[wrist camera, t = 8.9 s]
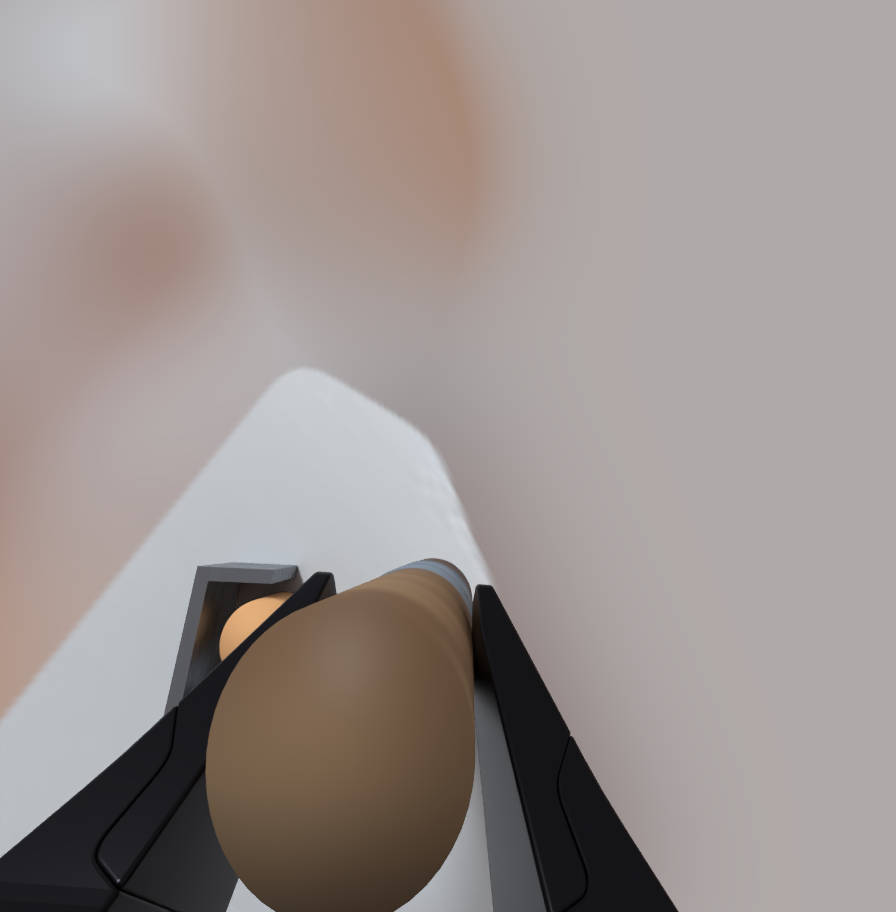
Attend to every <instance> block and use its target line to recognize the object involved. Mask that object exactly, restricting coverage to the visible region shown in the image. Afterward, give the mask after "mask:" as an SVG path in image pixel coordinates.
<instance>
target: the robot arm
mask: <svg viewBox="0 0 896 912" xmlns="http://www.w3.org/2000/svg"><path fill="white" fill-rule="evenodd" d="M334 595H336V587H335V580H334V575H333V574H332V573H331V572H316V573H315V574H313V575H312V576H311V577H310V578H309V579H308V580H307V581H306V582H305V583H304V584H303V585H302V586H301V587H300V588H299V589H298V590H296V591H295V592H294V593H293V594H292V595H291V596H290V597H289V598H288V599H287V600H286V601H285V602H284V603H283V604H282V605H281V606H280V607H279V608H278V609H276V610H275V611H274V612H273V613H272V614H271V615H270V616H269V617H268V618H267V619H266V620H265V621H264V622H263V623H262V624H261V625H260V626H259V627H258V628H256V629H255V630H254V631H253V632H252V633H251V634H250V635H249V636H248V637H247V638H246V639H245V640H244V641H243V642H242V643H241V644H240V645H239V646H237V647H236V648H235V649H234V650H233V651H232V652H231V653H230V654H229V655H228V656H227V657H226V658H225V659H224V660H223V661H222V662H221V663H220V664H219V665H217V666H216V667H215V668H214V669H213V670H212V671H211V672H210V673H209V674H208V675H207V676H206V677H205V678H204V679H203V680H202V681H201V682H200V683H198V684H197V685H196V686H195V687H194V688H193V689H192V690H191V691H190V692H189V693H188V694H187V695H186V696H185V697H184V698H183V699H182V700H181V701H180V702H179V703H178V706H174V707H173V708H172V709H171V710H170V711H169V712H168V713H167V714H166V715H165V716H163V717H162V718H161V719H160V720H159V721H158V722H157V723H156V724H155V725H154V726H153V727H152V728H151V729H150V730H149V731H147V732H146V733H145V734H144V735H143V736H142V737H141V738H140V739H139V740H138V741H137V742H135V743H134V744H133V745H132V746H131V747H130V748H129V749H128V750H127V751H126V752H125V753H123V754H122V755H121V756H120V757H119V758H118V759H117V760H115V761H114V762H113V763H112V764H111V765H110V766H109V767H107V768H106V769H105V770H104V771H103V772H102V773H100V774H99V775H98V776H97V777H96V778H95V779H94V780H92V781H91V782H90V783H89V784H88V785H87V786H85V787H84V788H83V789H82V790H81V791H80V792H78V793H77V794H76V795H75V796H74V797H72V798H71V799H70V800H69V801H68V802H66V803H65V804H64V805H63V806H62V807H61V808H59V809H58V810H57V811H56V812H55V813H53V814H52V815H51V816H50V817H49V818H47V819H46V820H45V821H44V822H43V823H41V824H40V825H39V826H38V827H37V828H36V829H34V830H33V831H32V832H31V833H30V834H28V835H27V836H26V837H25V838H24V839H22V840H21V841H20V842H19V843H18V844H16V845H15V846H14V847H13V848H12V849H11V850H9V851H8V852H7V853H6V854H5V855H3V856H2V857H1V858H0V912H226V910H227V908H228V905H229V902H230V900H231V897H232V894H233V892H234V889H235V886H236V884H237V881H238V878H239V877H238V876H237V875H236V873H235V872H234V870H233V868H232V867H231V865H230V863H229V862H228V860H227V858H226V856H225V855H224V852H223V850H222V848H221V845H220V843H219V841H218V838H217V836H216V833H215V829H214V826H213V822H212V819H211V815H210V810H209V804H208V798H207V789H206V753H207V745H208V739H209V732H210V728H211V724H212V720H213V716H214V712H215V709H216V707H217V704H218V701H219V699H220V696H221V693H222V691H223V689H224V687H225V685H226V683H227V681H228V679H229V677H230V675H231V673H232V672H233V670H234V669H235V667H236V665H237V664H238V662H239V661H240V659H241V658H242V657H243V655H244V654H245V653H246V652H247V650H248V649H249V648H250V647H251V645H252V644H253V643H254V642H255V641H256V640H257V639H258V638H259V637H260V636H261V635H262V634H263V633H264V632H265V631H267V630H268V629H269V628H270V627H272V626H273V625H274V624H276V623H277V622H278V621H280V620H281V619H283V618H285V617H286V616H288V615H290V614H291V613H293V612H295V611H297V610H300V609H302V608H304V607H307V606H309V605H312V604H314V603H317V602H319V601H321V600H324V599H326V598H329V597H331V596H334ZM472 642H473V674H474V709H475V720H476V731H477V741H478V752H479V762H480V773H481V784H482V794H483V805H484V816H485V826H486V837H487V848H488V858H489V869H490V879H491V890H492V901H493V911H494V912H678V910H677V909H676V907H675V905H674V904H673V902H672V901H671V899H670V898H669V896H668V895H667V893H666V891H665V890H664V888H663V887H662V885H661V884H660V882H659V880H658V879H657V877H656V876H655V874H654V872H653V871H652V869H651V868H650V866H649V865H648V863H647V862H646V860H645V858H644V857H643V855H642V854H641V852H640V851H639V849H638V847H637V846H636V844H635V843H634V841H633V840H632V838H631V836H630V835H629V833H628V832H627V830H626V829H625V827H624V825H623V823H622V822H621V820H620V819H619V817H618V815H617V814H616V812H615V810H614V809H613V807H612V806H611V804H610V802H609V801H608V799H607V797H606V796H605V794H604V792H603V791H602V789H601V787H600V785H599V784H598V782H597V780H596V778H595V776H594V775H593V773H592V771H591V769H590V768H589V766H588V764H587V762H586V761H585V759H584V757H583V755H582V753H581V751H580V749H579V747H578V745H577V744H576V742H575V740H574V738H573V737H572V736H570V731H569V729H568V727H567V725H566V723H565V721H564V720H563V718H562V716H561V714H560V712H559V710H558V708H557V706H556V704H555V703H554V701H553V699H552V697H551V695H550V693H549V691H548V690H547V688H546V686H545V684H544V682H543V680H542V679H541V676H540V674H539V673H538V671H537V669H536V667H535V665H534V663H533V661H532V660H531V658H530V656H529V654H528V652H527V650H526V648H525V646H524V644H523V642H522V641H521V639H520V637H519V635H518V633H517V631H516V629H515V627H514V626H513V624H512V622H511V620H510V618H509V616H508V614H507V612H506V610H505V609H504V607H503V605H502V603H501V601H500V599H499V597H498V595H497V594H496V592H495V590H494V588H493V587H492V586H491V585H481V584H478V585H477V586H476V588H475V594H474V599H473V606H472Z"/></svg>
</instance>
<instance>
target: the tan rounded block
mask: <svg viewBox="0 0 896 912" xmlns="http://www.w3.org/2000/svg"><path fill="white" fill-rule="evenodd" d="M292 594H293V593H291V592H278V593H275V594H271V595H268V596H265V597H262V598H259V599H256V600H253V601H250V602H248V603H246V604H244V605H243V606H241V607H240V608H238V609H237V610H236V611H235V612H234V613H233V614H232V615H231V616H230V618H229V619H228V621H227V622H226V624H225V626H224V628H223V631H222V634H221V638H220V648H219V649H220V656H221V660H222V661H223V660H224V659H225V658H226V657H227V656H228V655H229V654H230V653H231V652H232V651H233V650H234V649H235V648H236V647H237V646H239V645H240V644H241V643H242V642H243V641H244V640H245V639H246V638H247V637H248V636H249V635H250V634H251V633H252V632H253V631H254V630H255V629H256V628H258V627H259V626H260V625H261V624H262V623H263V622H264V621H265V620H266V619H267V618H268V617H269V616H270V615H271V614H272V613H273V612H274V611H275V610H276V609H278V608H279V607H280V606H281V605H282V604H283V603H284V602H285V601H286V600H287V599H288V598H289V597H290V596H291V595H292Z"/></svg>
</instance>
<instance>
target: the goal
mask: <svg viewBox="0 0 896 912" xmlns="http://www.w3.org/2000/svg"><path fill="white" fill-rule="evenodd" d="M296 570H297V566H296V565H275V564H253V563H223V564H214V565H205V566H198V567H197V571H196V576H195V580H194V584H193V589H192V593H191V598H190V602H189V607H188V611H187V615H186V620H185V624H184V629H183V633H182V638H181V642H180V646H179V651H178V655H177V660H176V664H175V669H174V673H173V677H172V682H171V686H170V691H169V695H168V700H167V704H166V708H165V713H164V716H165V715H166V714H167V713H168V712H169V711H170V710H171V709H172V708H173V707H174V706H178V703H179V702H180V701H181V700H182V699H183V698H184V697H185V696H186V695H187V694H188V693H189V692H190V691H191V690H192V689H193V688H194V687H195V686H196V685H197V684H198V683H200V682H201V681H202V680H203V679H204V678H205V677H206V676H207V675H208V674H209V673H210V672H211V671H212V670H213V669H214V668H215V667H216V666H217V665H219V664H220V663H221V662H222V660H221V656H220V649H219V648H220V638H221V634H222V631H223V628H224V626H225V624H226V622H227V621H228V619H229V618H230V616H231V615H232V614H233V613H234V610H235V605H236V599H237V594H238V589H239V584H240V582H242V583H264V584H273V583H276V582H280V581H284V580H288V579H292V578H295V577H296Z"/></svg>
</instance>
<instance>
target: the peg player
mask: <svg viewBox="0 0 896 912" xmlns="http://www.w3.org/2000/svg"><path fill="white" fill-rule="evenodd" d="M472 606H473V601H472V593H471V588H470V585H469V583H468V581H467V579H466V577H465V576H464V574H463V573H462V572H461V571H460V570H459V569H458V568H457V567H456V566H455V565H453V564H452V563H450V562H448V561H445V560H442V559H436V558H430V559H424V560H421V561H416V562H413V563H410V564H407V565H404V566H402V567H399V568H397V569H394V570H392V571H389V572H387V573H385V574H384V575H382V576H380V577H379V578H376V579H374V580H371V581H369V582H366V583H364V584H361V585H359V586H356V587H354V588H351V589H349V590H346V591H344V592H341V593H339V594H336V595H334V596H331V597H329V598H326V599H324V600H321V601H319V602H317V603H314V604H312V605H309V606H307V607H304V608H302V609H300V610H297V611H295V612H293V613H291V614H290V615H288V616H286V617H285V618H283V619H281V620H280V621H278V622H277V623H276V624H274V625H273V626H272V627H270V628H269V629H268V630H267V631H265V632H264V633H263V634H262V635H261V636H260V637H259V638H258V639H257V640H256V641H255V642H254V643H253V644H252V645H251V647H250V648H249V649H248V650H247V652H246V653H245V654H244V655H243V657H242V658H241V659H240V661H239V662H238V664H237V665H236V667H235V669H234V670H233V672H232V673H231V675H230V677H229V679H228V681H227V683H226V685H225V687H224V689H223V691H222V693H221V696H220V699H219V701H218V704H217V707H216V709H215V712H214V716H213V720H212V724H211V728H210V732H209V739H208V745H207V753H206V789H207V798H208V804H209V810H210V815H211V819H212V822H213V826H214V829H215V833H216V836H217V838H218V841H219V843H220V845H221V848H222V850H223V852H224V855H225V856H226V858H227V860H228V862H229V863H230V865H231V867H232V868H233V870H234V872H235V873H236V875H237V876H238V877H239V878H240V880H241V881H242V882H243V883H244V885H245V886H246V887H247V888H248V889H249V890H250V891H251V892H252V893H253V894H254V895H255V896H256V897H257V898H258V899H259V900H260V901H261V902H262V903H264V904H265V905H267V906H268V907H270V908H271V909H273V910H274V911H276V912H394V911H395V910H397V909H398V908H400V907H401V906H403V905H404V904H406V903H407V902H409V901H410V900H411V899H412V898H413V897H414V896H415V895H417V894H418V893H419V892H420V891H421V890H422V889H423V888H424V887H425V886H426V885H427V884H428V883H429V882H430V880H431V879H432V878H433V877H434V875H435V874H436V873H437V872H438V871H439V869H440V868H441V866H442V865H443V863H444V861H445V860H446V858H447V857H448V855H449V853H450V852H451V850H452V848H453V846H454V844H455V842H456V840H457V838H458V835H459V833H460V831H461V829H462V826H463V823H464V820H465V817H466V814H467V810H468V807H469V802H470V798H471V793H472V788H473V780H474V769H475V731H474V674H473V642H472Z"/></svg>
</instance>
